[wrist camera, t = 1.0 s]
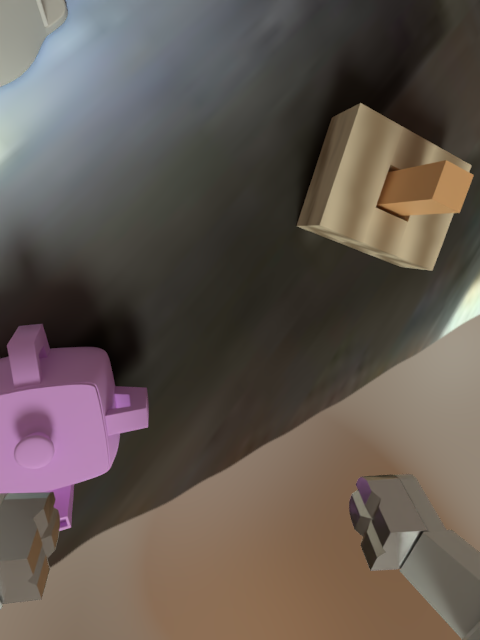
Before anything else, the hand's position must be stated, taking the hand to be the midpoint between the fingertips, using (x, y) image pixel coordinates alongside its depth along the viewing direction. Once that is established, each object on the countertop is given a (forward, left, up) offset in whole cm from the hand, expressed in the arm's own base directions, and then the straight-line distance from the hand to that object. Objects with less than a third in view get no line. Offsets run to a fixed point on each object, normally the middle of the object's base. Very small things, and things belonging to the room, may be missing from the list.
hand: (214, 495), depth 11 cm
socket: (-8, +33, -38) cm, 51 cm away
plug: (-8, +33, -38) cm, 51 cm away
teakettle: (+12, -11, -38) cm, 42 cm away
